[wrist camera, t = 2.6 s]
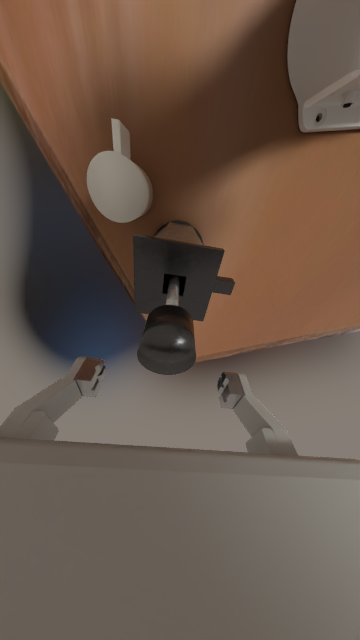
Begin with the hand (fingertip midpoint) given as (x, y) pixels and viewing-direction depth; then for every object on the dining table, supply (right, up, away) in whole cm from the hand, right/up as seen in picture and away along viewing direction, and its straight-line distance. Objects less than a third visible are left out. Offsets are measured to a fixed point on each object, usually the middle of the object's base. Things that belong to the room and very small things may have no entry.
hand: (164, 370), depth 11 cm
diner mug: (-8, +29, +18) cm, 35 cm away
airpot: (+2, +19, +25) cm, 32 cm away
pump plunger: (0, +13, +18) cm, 22 cm away
